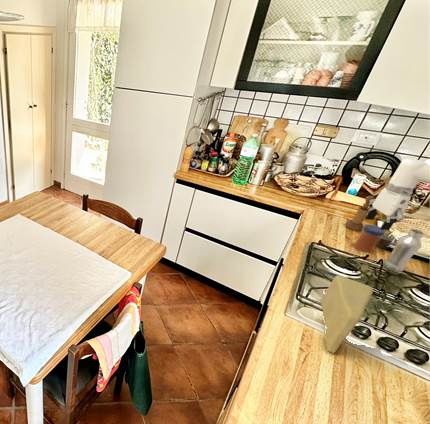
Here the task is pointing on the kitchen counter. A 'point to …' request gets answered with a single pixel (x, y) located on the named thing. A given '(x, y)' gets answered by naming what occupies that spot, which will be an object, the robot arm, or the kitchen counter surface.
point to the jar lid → (373, 230)
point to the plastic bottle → (403, 251)
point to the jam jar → (366, 241)
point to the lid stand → (384, 242)
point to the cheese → (343, 309)
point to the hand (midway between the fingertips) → (376, 224)
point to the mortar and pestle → (359, 216)
